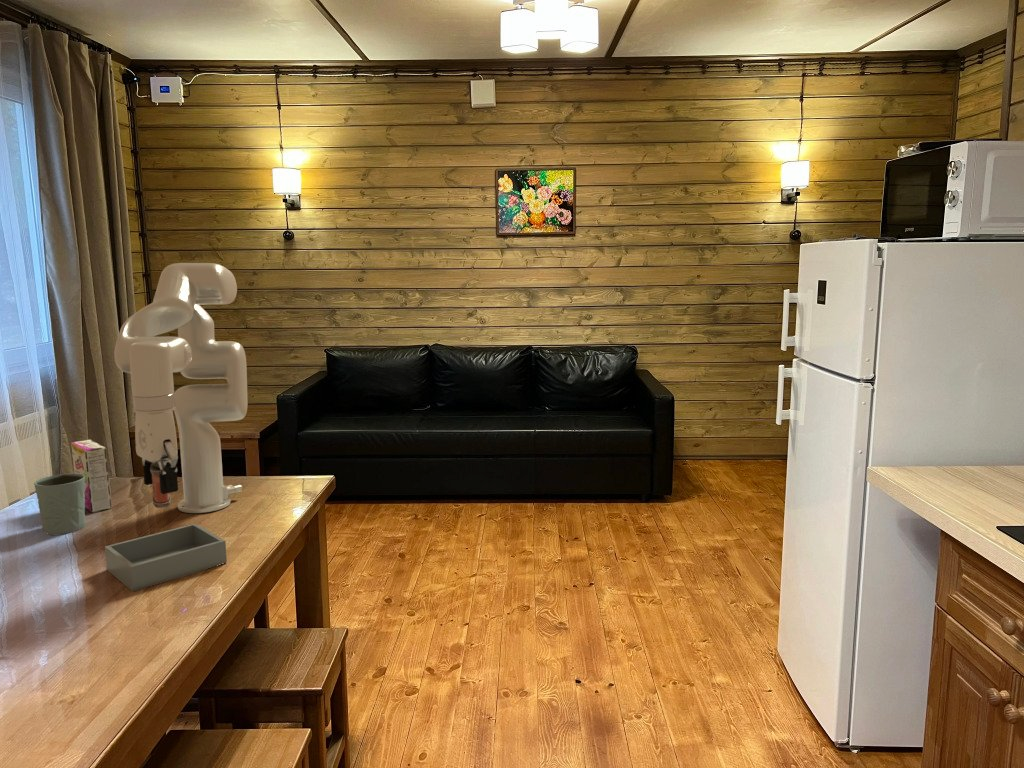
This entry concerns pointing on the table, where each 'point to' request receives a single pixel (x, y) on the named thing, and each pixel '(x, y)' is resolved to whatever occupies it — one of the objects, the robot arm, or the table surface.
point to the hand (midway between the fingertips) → (161, 487)
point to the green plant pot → (61, 503)
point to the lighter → (158, 488)
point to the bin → (164, 556)
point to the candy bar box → (92, 473)
